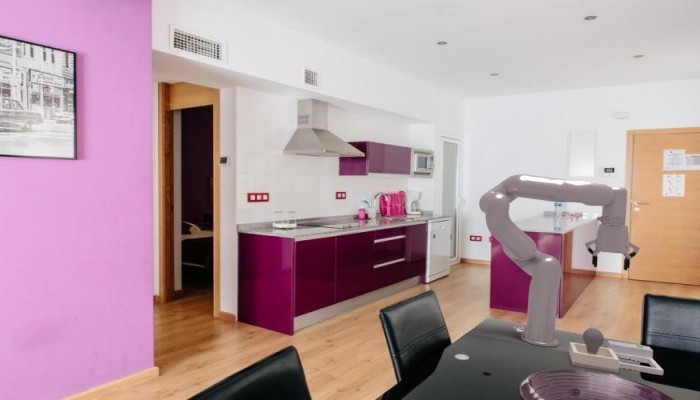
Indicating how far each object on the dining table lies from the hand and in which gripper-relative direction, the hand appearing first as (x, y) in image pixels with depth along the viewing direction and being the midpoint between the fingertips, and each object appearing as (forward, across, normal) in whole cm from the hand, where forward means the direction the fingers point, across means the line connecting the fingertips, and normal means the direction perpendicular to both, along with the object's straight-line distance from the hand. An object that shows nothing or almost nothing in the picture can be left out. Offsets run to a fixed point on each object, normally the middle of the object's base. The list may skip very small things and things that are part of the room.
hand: (610, 268), depth 166 cm
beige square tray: (+28, -7, -24) cm, 38 cm away
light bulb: (+28, -7, -24) cm, 37 cm away
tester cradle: (+28, +6, -15) cm, 33 cm away
